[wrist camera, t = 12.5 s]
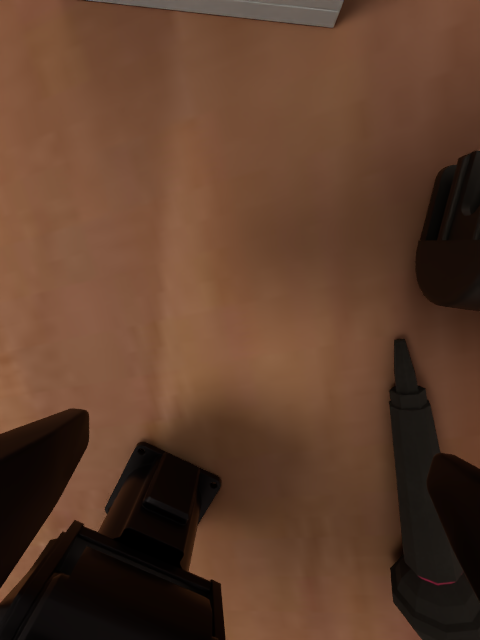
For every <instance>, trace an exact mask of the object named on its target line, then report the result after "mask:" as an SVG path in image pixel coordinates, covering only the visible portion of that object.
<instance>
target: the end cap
mask: <svg viewBox="0 0 480 640" xmlns="http://www.w3.org/2000/svg"><path fill="white" fill-rule="evenodd" d="M416 276H417V281H418V284H419V288H420V289H421V291H422V293H423V295H424V296H425V297H426V298H427V299H428V300H429V301H430V302H432V303H434V304H436V305H439V306H445V307H453V308H460V309H468V310H476V311H480V151H474V152H472V153H469V154H467V155H465V156H462V157H460V158H459V159H458V163H457V165H451V166H448V167H445V168H444V169H442V170H441V171H440V172H439V173H438V175H437V177H436V180H435V184H434V188H433V192H432V196H431V200H430V204H429V208H428V212H427V216H426V220H425V224H424V228H423V232H422V235H421V241H419V242H418V247H417V252H416Z"/></svg>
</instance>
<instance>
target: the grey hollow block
mask: <svg viewBox="0 0 480 640" xmlns="http://www.w3.org/2000/svg"><path fill="white" fill-rule="evenodd" d="M88 1H97V2H106V3H115V4H124V5H133V6H142V7H151V8H160V9H169V10H178V11H187V12H196V13H205V14H214V15H222V16H231V17H240V18H249V19H258V20H267V21H276V22H285V23H294V24H303V25H312V26H321V27H330V28H333V27H334V25H335V22H336V20H337V17H338V15H339V12H340V9H341V7H342V4H343V1H344V0H88Z"/></svg>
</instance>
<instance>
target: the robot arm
mask: <svg viewBox="0 0 480 640" xmlns="http://www.w3.org/2000/svg"><path fill="white" fill-rule="evenodd" d="M88 442H89V414H88V412H87V411H86V410H82V409H74V408H73V409H68V410H65V411H63V412H60V413H57V414H54V415H52V416H49V417H46V418H43V419H41V420H38V421H35V422H32V423H30V424H27V425H24V426H21V427H19V428H16V429H13V430H10V431H8V432H5V433H2V434H0V588H1V587H2V585H3V584H4V582H5V581H6V579H7V578H8V576H9V575H10V573H11V572H12V570H13V569H14V567H15V566H16V564H17V563H18V561H19V560H20V558H21V557H22V555H23V554H24V552H25V551H26V549H27V548H28V546H29V545H30V543H31V542H32V540H33V539H34V537H35V536H36V534H37V533H38V531H39V530H40V528H41V527H42V525H43V524H44V522H45V521H46V519H47V518H48V516H49V515H50V513H51V512H52V510H53V508H54V507H55V505H56V504H57V502H58V500H59V498H60V497H61V495H62V493H63V491H64V489H65V487H66V486H67V484H68V482H69V480H70V478H71V476H72V474H73V472H74V471H75V469H76V467H77V465H78V463H79V461H80V459H81V457H82V456H83V454H84V452H85V450H86V448H87V445H88ZM140 449H144V450H145V451H141V450H140ZM212 482H215V483H216V484H212ZM426 484H427V490H428V492H429V495H430V497H431V500H432V502H433V504H434V507H435V509H436V511H437V514H438V516H439V519H440V521H441V523H442V526H443V528H444V531H445V533H446V535H447V538H448V540H449V542H450V545H451V547H452V549H453V551H454V554H455V556H456V558H457V560H458V562H459V564H460V566H461V568H462V570H463V571H464V573H465V575H466V577H467V579H468V581H469V583H470V585H471V587H472V589H473V591H474V593H475V594H476V596H477V598H478V600H479V602H480V469H479V468H477V467H475V466H474V465H472V464H470V463H468V462H466V461H464V460H463V459H461V458H459V457H457V456H455V455H452V454H444V453H437V454H436V455H435V456H434V457H433V460H432V463H431V467H430V470H429V473H428V476H427V482H426ZM220 487H221V479H220V477H218V476H217V475H214V474H212V473H210V472H208V471H206V470H204V469H202V468H199V467H197V466H195V465H193V464H191V463H189V462H187V461H184V460H182V459H180V458H178V457H176V456H174V455H172V454H170V453H167V452H165V451H163V450H161V449H159V448H157V447H155V446H152V445H150V444H148V443H146V442H140V443H138V444H137V446H136V448H135V449H134V451H133V453H132V455H131V457H130V459H129V461H128V463H127V465H126V467H125V469H124V471H123V473H122V475H121V477H120V479H119V481H118V483H117V485H116V487H115V489H114V491H113V493H112V495H111V497H110V499H109V501H108V503H107V505H106V507H105V512H106V513H107V516H106V518H105V520H104V521H103V523H102V525H101V527H100V529H99V531H98V532H96V531H94V530H91V529H89V528H87V527H84V526H83V525H84V524H83V523H81V522H79V521H76V520H74V522H73V523H72V524H71V526H70V527H69V529H68V530H67V531H66V533H65V532H62V533H61V534H60V536H59V537H58V538H57V539H53V540H50V541H49V543H48V544H47V546H46V547H45V549H44V550H43V552H42V553H41V555H40V556H39V558H38V559H37V560H36V562H35V563H34V565H33V566H32V568H31V569H30V570H29V572H28V573H27V574H26V575H25V576H24V577H23V578H22V580H21V581H20V582H19V583H18V584H17V585H16V586H15V587H14V588H13V589H12V591H11V592H10V593H9V594H8V595H7V596H6V597H5V598H4V599H3V601H2V602H1V603H0V640H225V629H224V617H223V606H222V594H221V584H220V583H218V582H216V581H214V580H210V581H208V580H206V579H204V578H202V577H199V576H197V575H195V574H192V573H190V572H188V571H189V566H190V561H191V556H192V550H193V545H194V540H195V535H196V530H197V525H198V524H199V522H200V520H201V519H202V517H203V515H204V514H205V512H206V511H207V509H208V507H209V506H210V504H211V502H212V501H213V499H214V497H215V496H216V494H217V492H218V491H219V489H220Z"/></svg>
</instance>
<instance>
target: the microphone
mask: <svg viewBox="0 0 480 640" xmlns="http://www.w3.org/2000/svg"><path fill="white" fill-rule="evenodd" d="M394 374H395V385H396V386H395V387H393V388H392V389H391V390H389V392H390V399H391V401H389V404H390V415H391V426H392V436H393V447H394V458H395V468H396V479H397V490H398V501H399V511H400V522H401V533H402V543H403V553H404V554H403V555H402V556H401V557H400V558H399V559H398V560H397V562H396V563H395V564H394V565H393V566H392V567H391V568H390V570H391V582H392V594H393V602H394V604H395V605H396V606H397V607H398V609H399V610H400V611H401V613H402V614H403V615H404V616H405V618H406V619H407V621H408V622H409V623H410V625H411V626H412V627H413V628H414V630H415V631H416V632H417V634H418V635H419V636H420V637H421V639H422V640H480V602H479V600H478V598H477V596H476V594H475V593H474V591H473V589H472V587H471V585H470V583H469V581H468V579H467V577H466V575H465V573H464V571H463V570H462V568H461V566H460V564H459V562H458V560H457V558H456V556H455V554H454V551H453V549H452V547H451V545H450V542H449V540H448V538H447V535H446V533H445V531H444V528H443V526H442V523H441V521H440V519H439V516H438V514H437V511H436V509H435V507H434V504H433V502H432V500H431V497H430V495H429V492H428V490H427V484H426V482H427V476H428V473H429V470H430V467H431V463H432V460H433V457H434V456H435V455H436V454H437V453H440V449H439V444H438V439H437V434H436V430H435V425H434V420H433V415H432V411H431V406H430V403H429V401H428V400H427V396H426V389H425V388H423V387H420V386H418V385H417V380H416V375H415V371H414V368H413V365H412V362H411V358H410V355H409V352H408V348H407V345H406V342H405V339H397V340H394Z"/></svg>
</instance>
